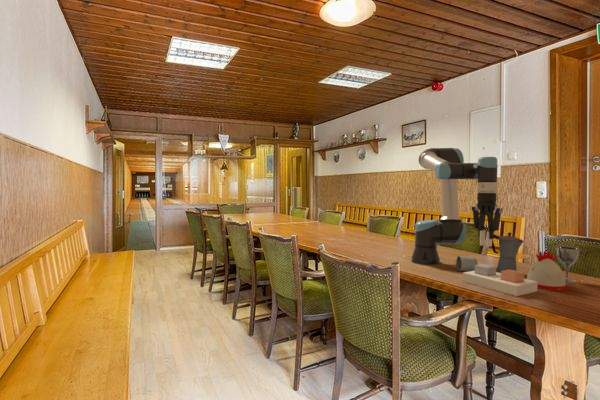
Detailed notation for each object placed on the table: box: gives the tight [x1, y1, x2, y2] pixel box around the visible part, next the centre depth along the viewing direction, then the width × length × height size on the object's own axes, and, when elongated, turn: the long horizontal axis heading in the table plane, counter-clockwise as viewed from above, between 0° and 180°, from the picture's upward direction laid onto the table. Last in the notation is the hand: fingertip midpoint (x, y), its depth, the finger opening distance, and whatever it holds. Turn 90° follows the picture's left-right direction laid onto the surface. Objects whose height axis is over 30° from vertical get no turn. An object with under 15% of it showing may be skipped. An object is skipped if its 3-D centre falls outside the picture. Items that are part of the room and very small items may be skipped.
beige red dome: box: [526, 250, 567, 291], centre depth 152 cm, size 14×14×15 cm
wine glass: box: [556, 245, 580, 284], centre depth 160 cm, size 8×8×15 cm
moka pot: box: [491, 232, 525, 273], centre depth 174 cm, size 10×15×20 cm, turn 41°
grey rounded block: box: [475, 263, 497, 276], centre depth 156 cm, size 6×6×4 cm
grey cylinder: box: [455, 255, 478, 272], centre depth 179 cm, size 11×8×8 cm
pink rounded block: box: [501, 269, 525, 283], centre depth 146 cm, size 6×6×4 cm
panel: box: [462, 271, 538, 297], centre depth 151 cm, size 24×14×4 cm, turn 28°
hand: (485, 245), depth 156 cm, fingers open, 3 cm apart
